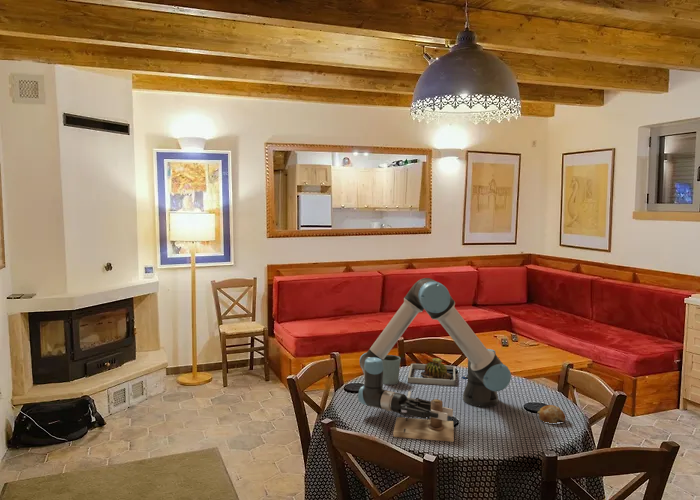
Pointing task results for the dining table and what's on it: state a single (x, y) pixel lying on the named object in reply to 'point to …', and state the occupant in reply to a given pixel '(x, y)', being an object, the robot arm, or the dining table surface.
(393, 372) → the green cup
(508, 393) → the dining table surface
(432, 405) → the brown flanged cylinder
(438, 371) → the cactus
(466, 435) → the dining table surface
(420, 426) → the board
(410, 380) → the plant tray
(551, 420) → the bread roll
